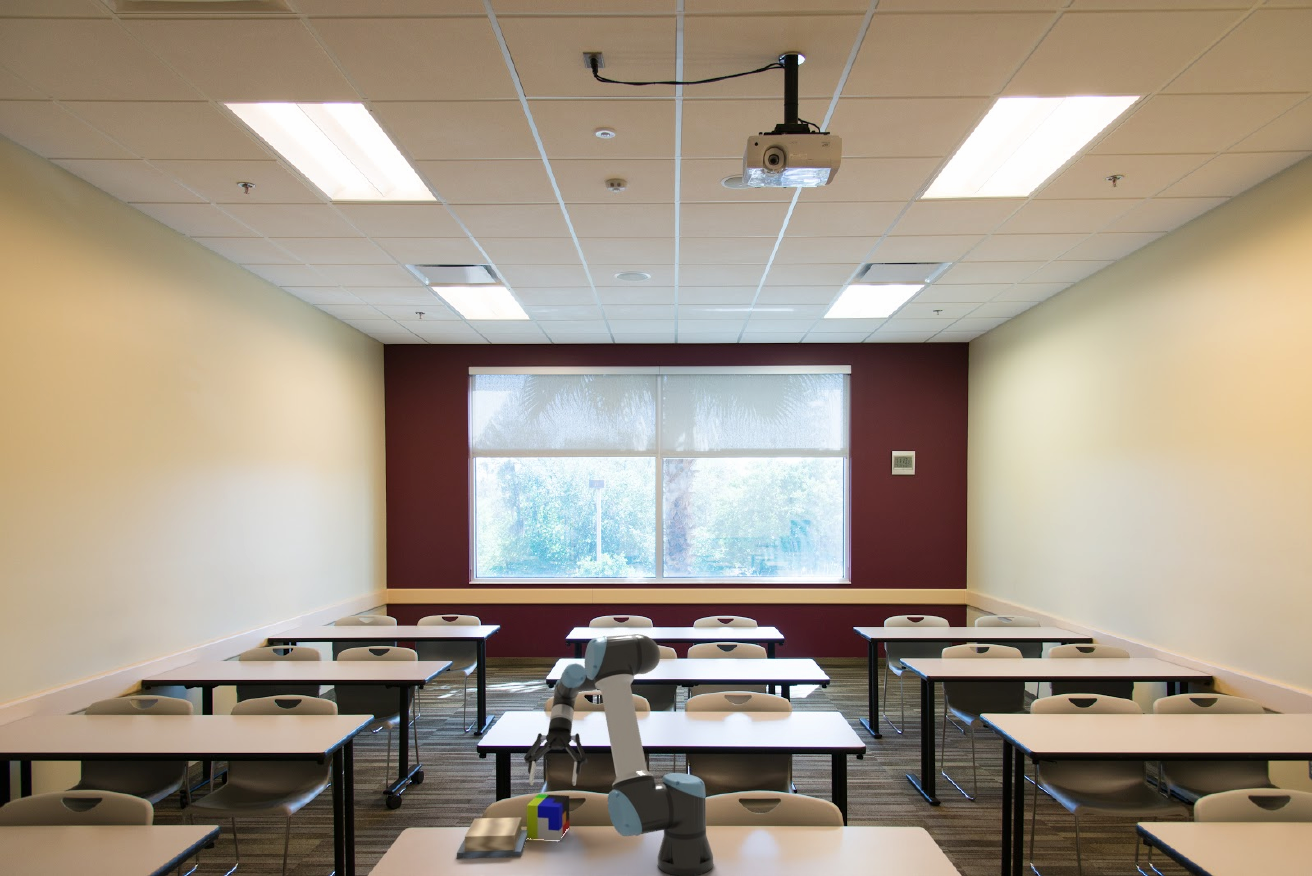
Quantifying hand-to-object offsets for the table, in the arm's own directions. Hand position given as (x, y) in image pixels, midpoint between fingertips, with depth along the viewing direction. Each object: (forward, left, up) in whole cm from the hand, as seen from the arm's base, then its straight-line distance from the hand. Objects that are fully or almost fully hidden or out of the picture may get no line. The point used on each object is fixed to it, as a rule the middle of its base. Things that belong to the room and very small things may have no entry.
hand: (552, 783), depth 251 cm
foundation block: (+15, +16, -12) cm, 25 cm away
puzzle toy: (0, +8, -13) cm, 15 cm away
